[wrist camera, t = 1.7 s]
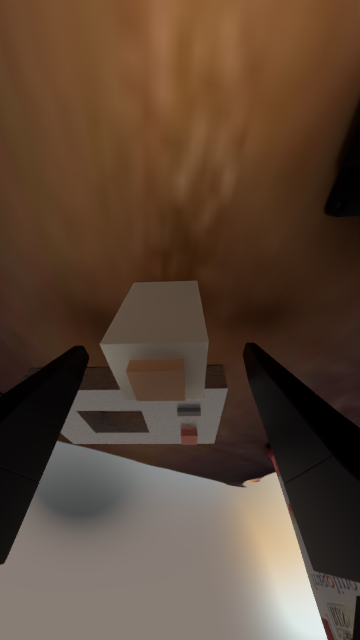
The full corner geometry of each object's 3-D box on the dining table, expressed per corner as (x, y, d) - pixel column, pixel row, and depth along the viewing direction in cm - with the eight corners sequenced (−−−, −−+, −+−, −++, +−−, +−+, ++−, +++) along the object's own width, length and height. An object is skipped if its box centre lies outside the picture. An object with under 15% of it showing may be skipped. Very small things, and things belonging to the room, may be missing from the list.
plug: (197, 280, 11) (210, 353, 6) (195, 329, 14) (204, 410, 9) (133, 282, 11) (93, 355, 6) (144, 330, 14) (122, 410, 9)
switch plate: (222, 365, 17) (229, 396, 14) (211, 423, 25) (214, 449, 23) (30, 368, 17) (3, 398, 15) (82, 424, 26) (71, 449, 23)
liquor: (275, 453, 33) (468, 981, 11) (255, 444, 30) (465, 1145, 8) (313, 444, 30) (698, 1169, 8) (295, 433, 27) (841, 1567, 5)
